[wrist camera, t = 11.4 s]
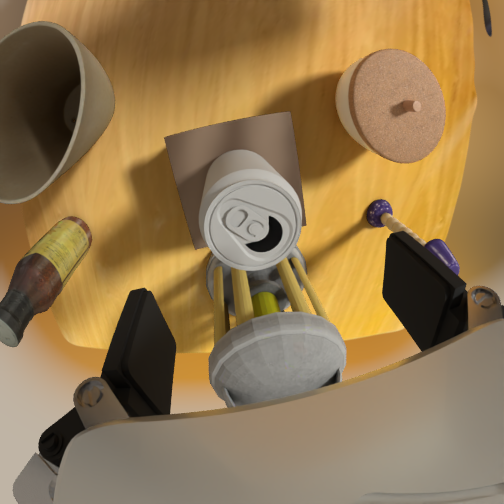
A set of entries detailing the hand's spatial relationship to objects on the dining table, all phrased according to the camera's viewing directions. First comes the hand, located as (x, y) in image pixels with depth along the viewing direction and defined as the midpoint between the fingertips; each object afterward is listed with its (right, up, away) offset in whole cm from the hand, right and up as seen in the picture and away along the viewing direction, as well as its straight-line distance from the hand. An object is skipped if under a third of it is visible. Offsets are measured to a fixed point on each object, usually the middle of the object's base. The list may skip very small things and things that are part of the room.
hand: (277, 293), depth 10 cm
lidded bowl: (+14, +21, +20) cm, 32 cm away
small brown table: (-3, +12, +22) cm, 25 cm away
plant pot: (-21, +19, +16) cm, 33 cm away
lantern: (0, -2, +30) cm, 30 cm away
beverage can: (-2, +8, +16) cm, 18 cm away
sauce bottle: (-26, +4, +24) cm, 35 cm away
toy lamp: (+17, +7, +28) cm, 33 cm away
